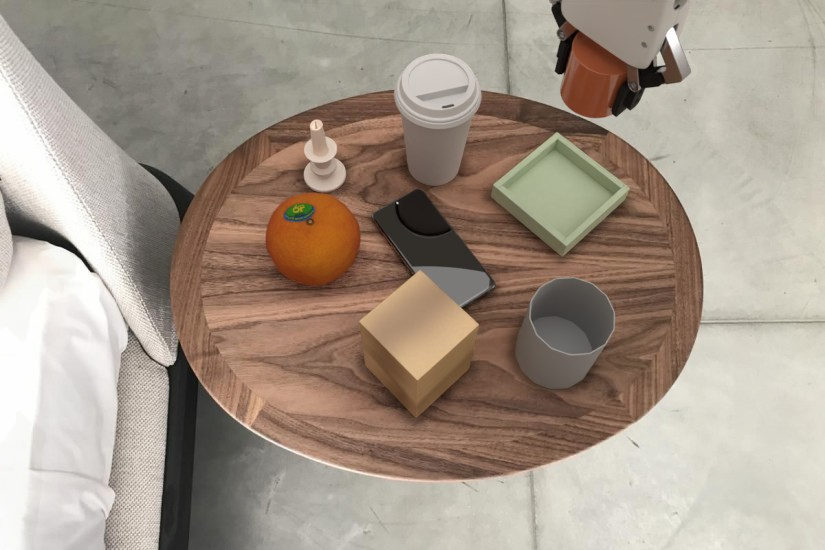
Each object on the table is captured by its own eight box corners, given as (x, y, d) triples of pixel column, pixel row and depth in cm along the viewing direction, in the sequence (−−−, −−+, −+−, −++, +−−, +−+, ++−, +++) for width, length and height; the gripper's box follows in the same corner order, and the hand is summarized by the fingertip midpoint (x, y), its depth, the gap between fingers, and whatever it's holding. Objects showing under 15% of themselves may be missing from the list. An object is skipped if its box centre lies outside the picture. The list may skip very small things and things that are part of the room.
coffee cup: (390, 192, 88) (388, 111, 75) (400, 130, 93) (399, 43, 79) (468, 200, 88) (479, 120, 74) (474, 137, 92) (486, 51, 79)
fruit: (379, 267, 83) (376, 231, 76) (301, 312, 81) (291, 280, 74) (331, 202, 87) (325, 163, 80) (256, 244, 85) (242, 207, 78)
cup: (504, 328, 80) (516, 289, 71) (572, 308, 81) (593, 267, 72) (532, 399, 76) (549, 366, 67) (604, 377, 77) (629, 342, 69)
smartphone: (446, 317, 79) (368, 213, 85) (445, 321, 80) (369, 218, 86) (499, 284, 81) (420, 185, 87) (498, 289, 82) (420, 190, 88)
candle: (314, 199, 88) (303, 146, 78) (297, 168, 90) (285, 113, 81) (353, 183, 89) (346, 129, 80) (335, 152, 91) (327, 96, 82)
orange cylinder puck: (638, 94, 71) (656, 49, 66) (596, 129, 69) (612, 86, 64) (588, 58, 73) (602, 12, 68) (546, 91, 71) (557, 47, 66)
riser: (469, 368, 78) (479, 324, 67) (416, 418, 75) (417, 380, 65) (418, 319, 80) (420, 269, 70) (365, 365, 78) (358, 321, 67)
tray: (624, 200, 88) (630, 188, 86) (562, 257, 84) (566, 246, 82) (553, 144, 92) (557, 131, 89) (490, 196, 88) (492, 184, 86)
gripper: (774, -42, 53) (689, 117, 69) (593, -149, 59) (553, 20, 75) (714, 8, 51) (640, 161, 67) (531, -109, 56) (503, 58, 72)
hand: (594, 85), depth 70 cm, fingers closed on orange cylinder puck, 6 cm apart
